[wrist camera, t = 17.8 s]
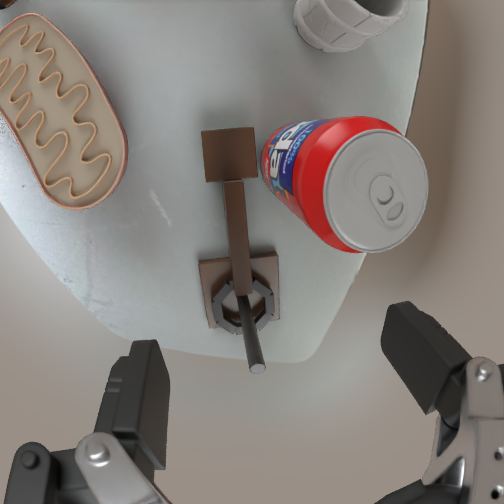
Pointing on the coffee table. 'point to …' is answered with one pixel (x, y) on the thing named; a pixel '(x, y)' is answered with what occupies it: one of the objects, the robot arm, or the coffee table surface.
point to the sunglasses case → (5, 3)
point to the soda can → (348, 180)
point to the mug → (345, 21)
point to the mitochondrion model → (59, 114)
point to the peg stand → (242, 299)
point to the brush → (235, 217)
